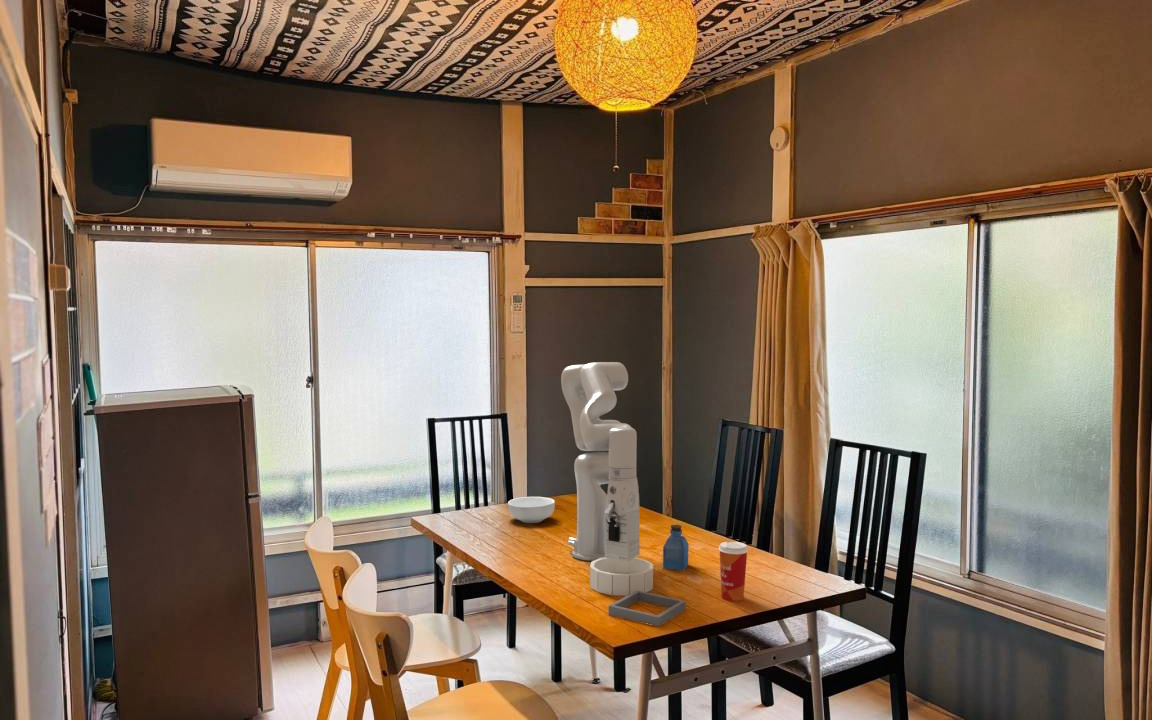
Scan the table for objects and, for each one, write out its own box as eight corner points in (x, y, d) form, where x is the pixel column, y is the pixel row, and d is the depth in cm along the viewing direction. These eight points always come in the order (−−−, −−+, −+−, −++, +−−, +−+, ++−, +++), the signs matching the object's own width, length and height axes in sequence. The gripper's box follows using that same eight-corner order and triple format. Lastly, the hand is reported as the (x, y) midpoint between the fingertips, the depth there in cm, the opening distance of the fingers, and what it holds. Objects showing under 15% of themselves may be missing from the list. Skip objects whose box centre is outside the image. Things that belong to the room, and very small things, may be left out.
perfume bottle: (688, 564, 245) (688, 524, 245) (683, 570, 239) (684, 529, 239) (667, 562, 247) (668, 522, 247) (663, 568, 242) (663, 527, 241)
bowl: (578, 587, 224) (578, 567, 223) (611, 571, 238) (611, 552, 237) (632, 599, 214) (632, 578, 214) (664, 582, 228) (664, 563, 228)
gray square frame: (608, 614, 204) (608, 605, 203) (637, 598, 215) (637, 590, 215) (658, 626, 196) (658, 617, 196) (685, 609, 207) (685, 601, 207)
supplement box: (616, 551, 230) (616, 506, 230) (640, 555, 227) (640, 509, 226) (603, 557, 224) (603, 511, 223) (628, 562, 220) (628, 514, 220)
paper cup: (714, 593, 220) (715, 541, 219) (742, 592, 220) (743, 540, 220) (722, 603, 212) (722, 549, 211) (751, 602, 213) (752, 548, 212)
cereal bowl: (528, 512, 309) (528, 494, 309) (564, 519, 299) (564, 500, 299) (498, 521, 295) (498, 502, 295) (534, 528, 286) (534, 508, 285)
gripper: (617, 479, 215) (617, 546, 216) (650, 469, 229) (650, 532, 230) (593, 476, 219) (593, 542, 220) (627, 467, 234) (626, 529, 234)
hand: (622, 537), depth 225 cm, fingers closed on supplement box, 7 cm apart
